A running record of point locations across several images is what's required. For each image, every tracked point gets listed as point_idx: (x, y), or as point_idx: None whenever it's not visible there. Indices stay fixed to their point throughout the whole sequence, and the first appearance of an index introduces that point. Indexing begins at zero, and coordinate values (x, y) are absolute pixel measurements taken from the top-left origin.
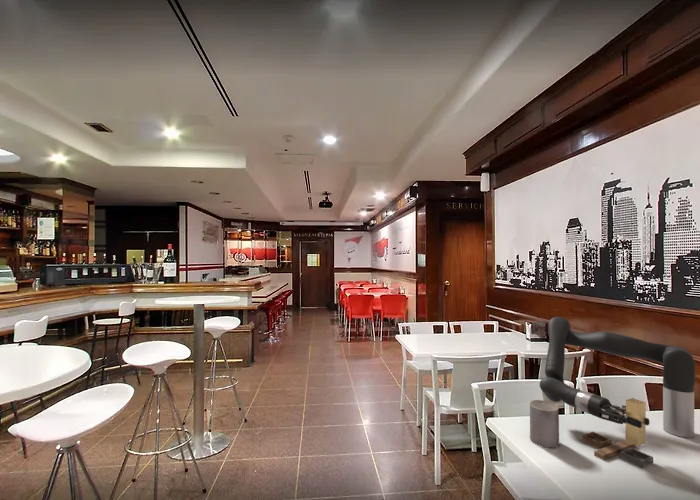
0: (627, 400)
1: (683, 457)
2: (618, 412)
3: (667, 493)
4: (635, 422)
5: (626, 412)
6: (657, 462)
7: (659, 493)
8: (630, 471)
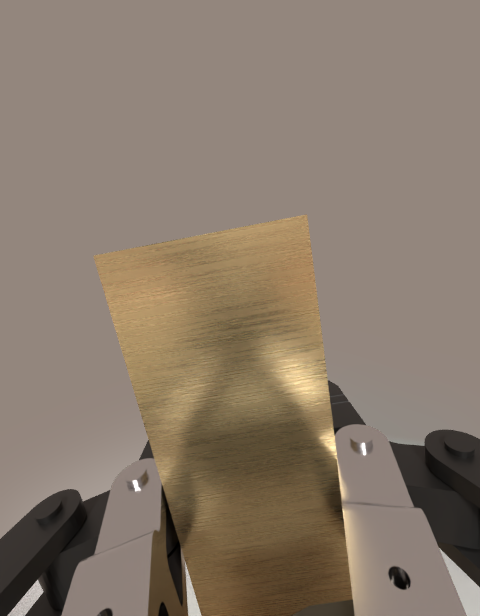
0: (298, 219)
1: (31, 592)
2: (428, 532)
3: (391, 441)
4: (340, 390)
5: (328, 412)
6: (199, 612)
7: (422, 445)
8: (462, 599)
